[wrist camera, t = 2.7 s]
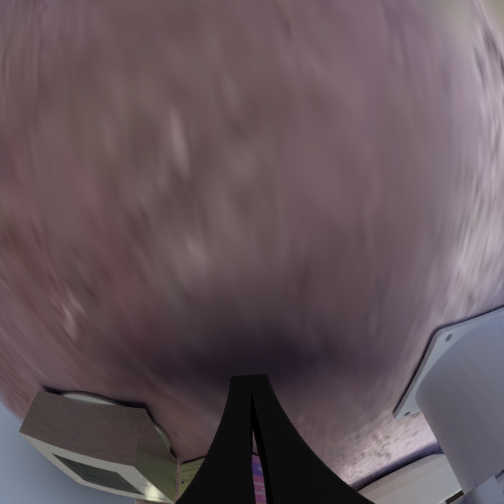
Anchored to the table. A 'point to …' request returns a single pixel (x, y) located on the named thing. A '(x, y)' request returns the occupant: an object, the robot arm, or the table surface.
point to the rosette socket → (103, 444)
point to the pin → (148, 502)
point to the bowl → (415, 483)
